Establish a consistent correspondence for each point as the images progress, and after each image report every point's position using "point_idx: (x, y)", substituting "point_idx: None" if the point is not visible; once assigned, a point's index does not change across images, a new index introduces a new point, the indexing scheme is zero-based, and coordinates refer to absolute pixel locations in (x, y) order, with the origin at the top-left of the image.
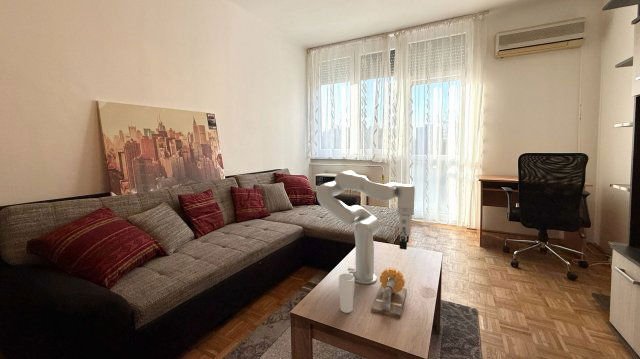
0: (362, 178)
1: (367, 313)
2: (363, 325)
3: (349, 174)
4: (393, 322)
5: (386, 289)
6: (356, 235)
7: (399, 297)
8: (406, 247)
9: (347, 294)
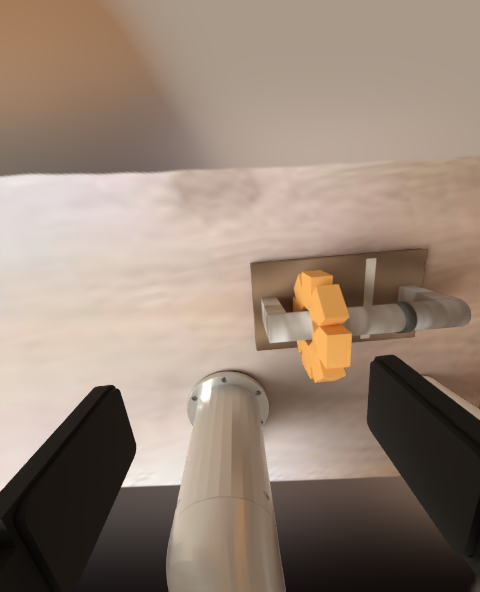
0: None
1: (418, 337)
2: (474, 330)
3: None
4: (443, 261)
5: (436, 324)
6: None
7: None
8: (412, 370)
9: None
